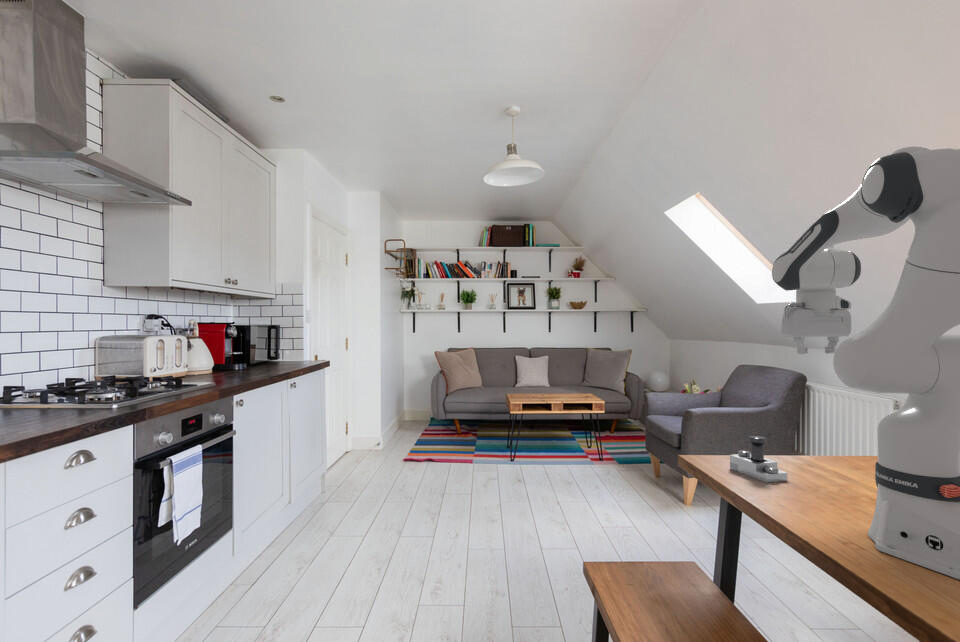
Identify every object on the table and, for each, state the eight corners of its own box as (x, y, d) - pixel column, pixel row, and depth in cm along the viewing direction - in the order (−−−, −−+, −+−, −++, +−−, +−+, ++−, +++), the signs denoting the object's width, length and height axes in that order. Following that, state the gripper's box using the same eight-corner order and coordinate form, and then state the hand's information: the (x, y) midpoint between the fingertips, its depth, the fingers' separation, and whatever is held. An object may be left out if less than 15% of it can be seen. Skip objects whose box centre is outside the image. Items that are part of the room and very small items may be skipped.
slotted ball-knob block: (787, 480, 121) (787, 461, 121) (765, 482, 119) (765, 463, 119) (750, 467, 133) (750, 449, 133) (730, 469, 131) (729, 451, 131)
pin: (771, 476, 124) (770, 439, 125) (757, 477, 123) (757, 440, 124) (757, 471, 129) (757, 435, 129) (744, 472, 128) (744, 436, 128)
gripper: (795, 301, 120) (796, 354, 120) (856, 302, 125) (856, 353, 125) (774, 303, 126) (775, 353, 126) (833, 304, 131) (833, 352, 131)
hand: (816, 353), depth 125 cm, fingers open, 8 cm apart
